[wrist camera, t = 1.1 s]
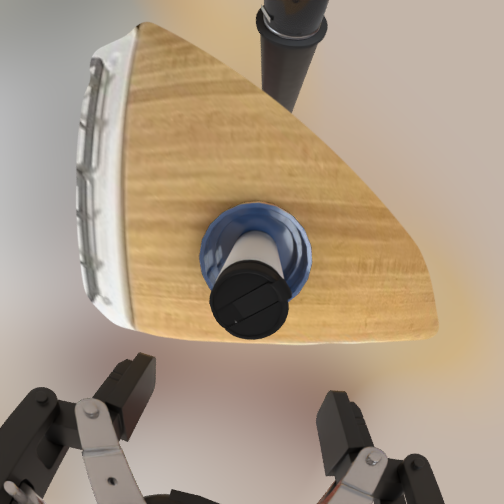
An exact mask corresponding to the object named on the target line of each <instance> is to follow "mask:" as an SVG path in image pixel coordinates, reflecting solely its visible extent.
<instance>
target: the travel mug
mask: <svg viewBox="0 0 504 504" xmlns="http://www.w3.org/2000/svg"><path fill="white" fill-rule="evenodd" d="M290 298H292V293H291V289H290V288H289V286H288V284H287V283H286V281H285V280H284V276H283V272H282V267H281V263H280V259H279V254H278V250H277V246H276V243H275V241H274V240H273V238H272V237H271V236H270V235H269V234H267V233H265V232H263V231H258V230H252V231H248V232H246V233H244V234H242V235H241V236H240V237H239V238H238V239H237V241H236V243H235V245H234V247H233V249H232V251H231V252H230V254H229V256H228V258H227V260H226V262H225V264H224V266H223V268H222V270H221V271H220V273H219V275H218V277H217V279H216V282H215V284H214V286H213V288H212V291H211V294H210V301H209V304H210V307H211V310H212V312H213V316H214V317H215V319H216V321H217V322H218V323H219V324H220V325H221V326H222V327H223V328H225V330H226V331H228V332H229V333H230V334H232V335H233V336H236V337H239V338H242V339H253V340H255V339H261V338H265V337H268V336H270V335H272V334H273V333H275V332H276V331H277V330H279V329H280V328H281V326H282V325H283V324H284V322H285V320H286V318H287V315H288V310H289V305H288V300H289V299H290Z"/></svg>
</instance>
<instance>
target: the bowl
mask: <svg viewBox="0 0 504 504" xmlns="http://www.w3.org/2000/svg"><path fill="white" fill-rule="evenodd" d="M252 230H258V231H263V232H265V233H267V234H269V235H270V236H271V237H272V238H273V240H274V241H275V243H276V246H277V250H278V254H279V259H280V263H281V267H282V272H283V276H284V280H285V281H286V283H287V284H288V286H289V288H290V289H291V293H292V298H290V299H289V300H288V302H289V301H290V300H291V299H293V298H294V297H295V296H296V295H298V293H299V292H300V291H301V289H302V288H303V286H304V285H305V283H306V281H307V280H308V277H309V273H310V269H311V266H312V251H311V244H310V242H309V239H308V237H307V234H306V232H305V230H304V228H303V227H302V226H301V225H300V224H299V222H298V221H297V220H296V219H295V218H294V217H293V216H292V215H291V214H290V213H289V212H287V211H286V210H284V209H282V208H281V207H279V206H277V205H275V204H272V203H267V202H262V201H252V202H244V203H241V204H239V205H237V206H234V207H232V208H230V209H228V210H226V211H224V212H223V213H222V214H221V215H220V216H218V217H217V218H216V219H215V220H214V221H213V222H212V223H211V224H210V226H209V228H208V229H207V231H206V233H205V235H204V237H203V239H202V243H201V249H200V255H199V259H200V265H201V272H202V275H203V277H204V279H205V281H206V283H207V285H208V287H209V288H210V290H211V291H212V288H213V286H214V284H215V282H216V279H217V277H218V275H219V273H220V271H221V270H222V268H223V266H224V264H225V262H226V260H227V258H228V256H229V254H230V252H231V251H232V249H233V247H234V245H235V243H236V241H237V239H238V238H239V237H240V236H241V235H242V234H244V233H246V232H248V231H252Z"/></svg>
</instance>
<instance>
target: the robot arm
mask: <svg viewBox="0 0 504 504" xmlns="http://www.w3.org/2000/svg"><path fill="white" fill-rule="evenodd" d="M328 2H329V0H264V8H263V6H261V9H262V11H263V13H264V15H263V19H264V24H265V26H266V27H267V29H268V30H269V31H270V32H272V33H273V34H275V35H277V36H279V37H281V38H284V39H289V40H304V39H308V38H310V37H312V36H314V35H315V34H316V33H317V32H318V31H319V29H320V26H321V21H322V18H323V16H324V13H325V10H326V7H327V4H328ZM155 374H156V358H155V357H153V356H150V355H147V354H144V353H141V352H140V353H138V354H137V356H136V357H135V359H134V360H133V361H131V360H128V359H126V360H124V361H122V362H120V363H118V365H117V366H116V367H115V369H114V370H113V372H111V374H110V375H109V377H108V378H107V379H106V380H105V381H104V383H103V384H102V385H101V387H100V388H99V389H98V391H97V392H96V393H95V395H94V396H93V397H92V398H86V399H83V400H80V401H79V402H78V403H71V402H66V401H61V400H58V399H57V396H56V394H55V393H54V392H53V391H52V390H50V389H48V388H45V387H39V388H35V389H33V390H31V391H30V392H29V393H28V395H27V396H26V397H25V398H24V399H23V401H22V402H21V403H20V404H19V405H18V406H17V408H16V409H15V410H14V411H13V413H12V414H11V415H10V416H9V417H8V419H7V420H6V421H5V422H4V424H3V425H2V426H1V428H0V504H46V503H45V502H44V500H43V497H44V495H45V493H46V491H47V489H48V487H49V485H50V483H51V481H52V479H53V477H54V475H55V473H56V471H57V469H58V468H59V465H60V464H61V462H62V460H63V458H64V456H65V455H66V452H67V451H68V449H69V447H72V448H76V449H81V450H83V452H82V456H83V460H84V463H85V467H86V471H87V474H88V478H89V480H90V484H91V487H92V490H93V493H94V496H95V498H96V501H97V504H219V503H216V502H213V501H211V500H209V499H206V498H204V497H201V496H198V495H194V494H189V493H185V492H181V491H177V490H173V489H172V490H171V493H170V495H169V494H157V495H149V496H145V497H143V496H142V494H141V492H140V490H139V487H138V485H137V483H136V481H135V479H134V477H133V474H132V472H131V470H130V467H129V465H128V462H127V460H126V457H125V455H124V453H123V450H122V449H121V447H120V444H119V441H120V439H122V440H125V441H127V442H128V441H129V438H130V437H131V435H132V433H133V431H134V429H135V427H136V425H137V423H138V421H139V419H140V417H141V415H142V413H143V411H144V409H145V407H146V405H147V403H148V401H149V399H150V397H151V395H152V393H153V391H154V387H155V379H156V378H155V376H156V375H155ZM365 424H366V423H365V420H364V419H363V415H362V412H361V410H360V408H359V407H358V406H357V405H356V404H355V403H354V402H350V401H349V399H348V396H347V393H346V392H345V391H331V390H330V391H329V392H328V393H327V395H326V397H325V399H324V401H323V403H322V405H321V407H320V409H319V411H318V413H317V418H316V425H317V430H318V436H319V441H320V446H321V452H322V458H323V463H324V469H325V475H326V476H335V481H334V482H333V483H332V485H331V486H330V487H329V489H328V490H327V492H326V493H325V494H324V495H323V497H322V498H321V499H320V500H319V502H318V503H317V504H372V503H373V501H374V504H406V502H407V504H445V503H444V500H443V498H442V495H441V492H440V490H439V487H438V484H437V482H436V479H435V477H434V474H433V472H432V469H431V467H430V464H429V462H428V460H427V459H426V458H425V457H424V456H422V455H420V454H410V455H408V456H407V457H406V458H405V459H404V460H395V459H390V458H387V456H386V454H385V453H384V452H383V451H382V450H381V449H378V448H376V447H374V445H373V442H372V439H371V436H370V434H369V431H368V428H367V426H366V425H365ZM404 494H405V497H404ZM405 498H406V501H405Z"/></svg>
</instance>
